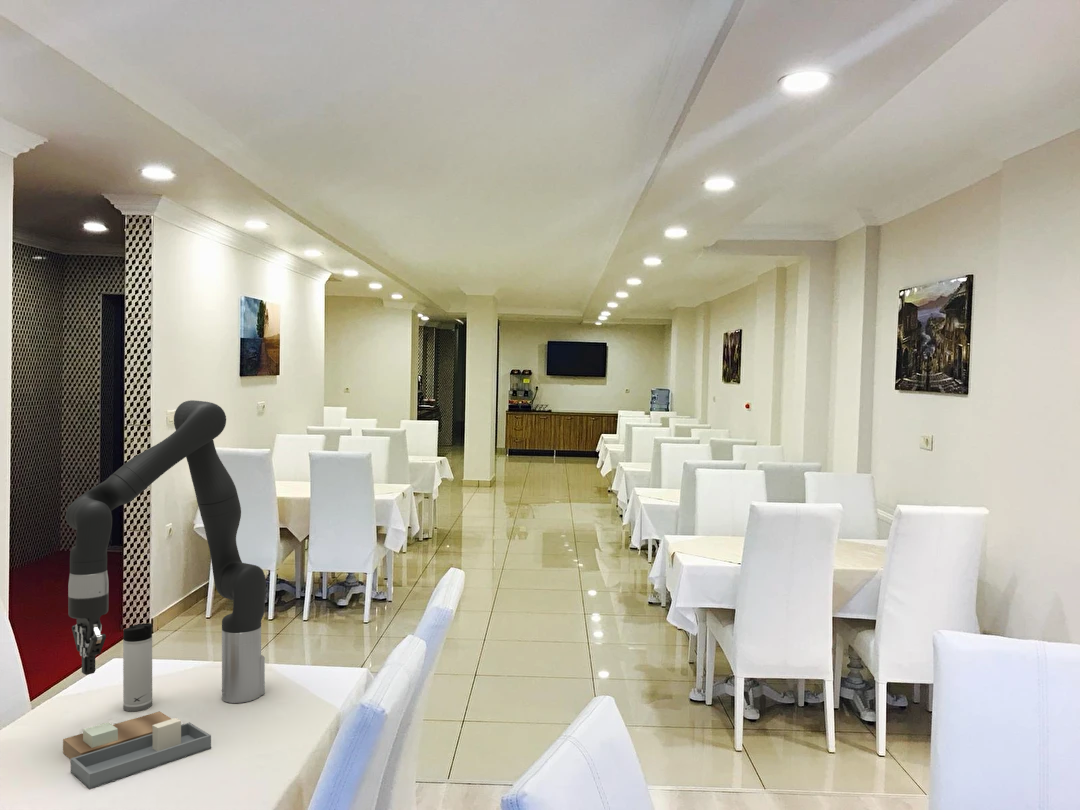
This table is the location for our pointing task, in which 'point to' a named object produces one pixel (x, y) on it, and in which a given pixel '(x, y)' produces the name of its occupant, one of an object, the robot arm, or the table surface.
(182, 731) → the tray
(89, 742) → the tile
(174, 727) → the tile
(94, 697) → the table surface
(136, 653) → the travel mug
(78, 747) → the walnut board
